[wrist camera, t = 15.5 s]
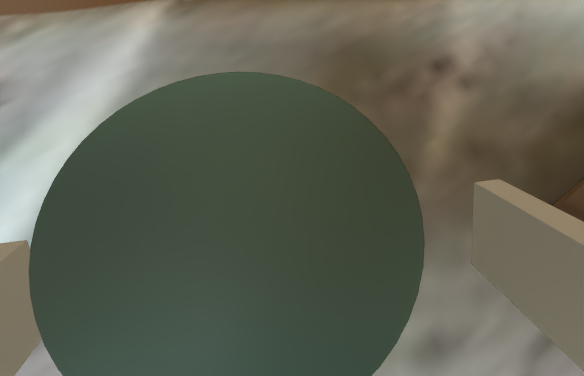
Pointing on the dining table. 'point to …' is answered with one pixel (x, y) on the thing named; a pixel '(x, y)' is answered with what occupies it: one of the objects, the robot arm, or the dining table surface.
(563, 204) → the socket block
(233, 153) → the dowel
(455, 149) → the dining table surface
